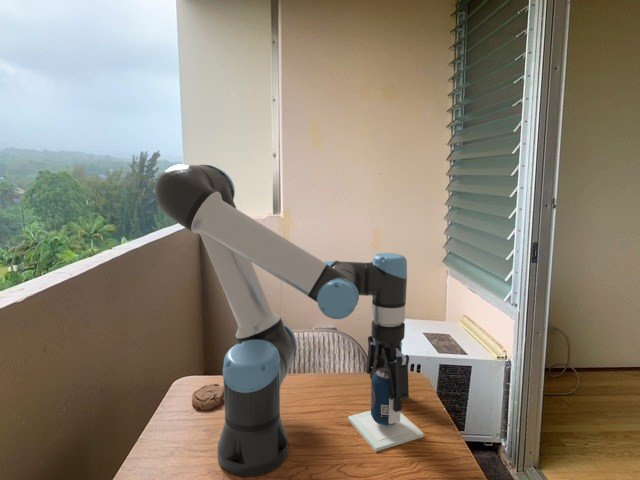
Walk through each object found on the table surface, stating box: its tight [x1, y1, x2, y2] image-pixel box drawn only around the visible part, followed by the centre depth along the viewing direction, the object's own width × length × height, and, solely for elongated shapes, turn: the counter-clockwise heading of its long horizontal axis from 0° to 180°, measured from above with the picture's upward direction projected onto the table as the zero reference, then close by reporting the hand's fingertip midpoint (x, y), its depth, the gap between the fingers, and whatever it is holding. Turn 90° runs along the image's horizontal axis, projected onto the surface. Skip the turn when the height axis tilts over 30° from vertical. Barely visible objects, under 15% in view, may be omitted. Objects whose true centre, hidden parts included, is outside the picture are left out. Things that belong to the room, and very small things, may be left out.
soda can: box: [370, 367, 395, 426], centre depth 97 cm, size 7×7×12 cm
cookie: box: [191, 383, 224, 412], centre depth 110 cm, size 10×11×3 cm
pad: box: [347, 410, 425, 453], centre depth 99 cm, size 13×13×1 cm
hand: (385, 413), depth 98 cm, fingers closed on soda can, 7 cm apart
